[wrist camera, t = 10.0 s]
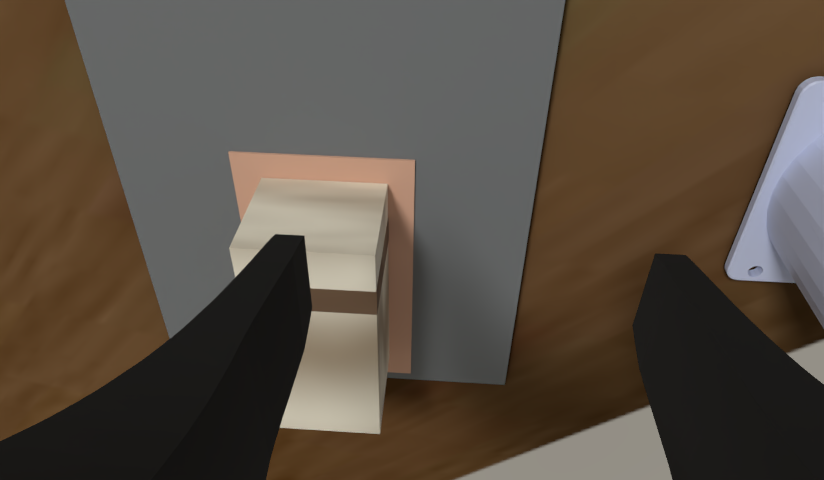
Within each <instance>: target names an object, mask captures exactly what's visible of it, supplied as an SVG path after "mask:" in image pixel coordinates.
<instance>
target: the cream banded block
mask: <svg viewBox="0 0 824 480" xmlns="http://www.w3.org/2000/svg"><path fill="white" fill-rule="evenodd" d="M275 234H284V235H303V236H304V237H305V246H306V255H307V264H308V273H309V282H310V291H311V300H312V312H311V317H310V323H309V329H308V334H307V339H306V344H305V349H304V353H303V356H302V359H301V362H300V366H299V369H298V372H297V375H296V378H295V381H294V384H293V387H292V391H291V394H290V397H289V400H288V403H287V406H286V409H285V412H284V415H283V418H282V421H281V424H280V428H295V429H310V430H326V431H341V432H357V433H372V434H380V430H381V421H382V413H383V405H384V397H385V389H386V380H387V372H388V364H389V267H388V241H389V218H388V184H383V183H362V182H341V181H320V180H299V179H278V178H261V180H260V182H259V184H258V186H257V189H256V191H255V193H254V195H253V197H252V199H251V202H250V204H249V206H248V208H247V210H246V212H245V215H244V217H243V219H242V221H241V223H240V225H239V228H238V230H237V232H236V234H235V236H234V238H233V241H232V243H231V245H230V247H229V250H230V255H231V259H232V264H233V269H234V274H235V277H236V276H237V275H238V274H239V273H240V272H241V271H242V270H243V269H244V268H245V266H246V265H247V264H248V263H249V262H250V261H251V260H252V259H253V258H254V256H255V255H256V254H257V253H258V252H259V251H260V250H261V249H262V247H263V246H264V245H265V244H266V243H267V242H268V241H269V240H270V239H271V238H272V237H273V236H274V235H275Z"/></svg>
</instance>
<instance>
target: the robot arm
mask: <svg viewBox="0 0 824 480" xmlns="http://www.w3.org/2000/svg"><path fill="white" fill-rule="evenodd" d="M754 266H758V267H757V268H755V269H753V270H749V269H750V268H752V267H754ZM724 268H725V270H726V273H727V275H728V277H730V278H731V279H735V280H747V281H765V282H784V283H796V284H797V286H798V288H799V289H800V291H801V293H802V294H803V296H804V297H805V299H806V301H807V302H808V304H809V306H810V307H811V309H812V311H813V312H814V314H815V316H816V317H817V319H818V320H819V322H820V324H821V325H822V327H823V329H824V77H822V76H817V77H811V78H809V79H807V80H805V81H803V82H802V83H801V84H800V85H799V86H798V88H797V89H796V91H795V93H794V96H793V98H792V100H791V103H790V105H789V108H788V110H787V113H786V115H785V118H784V120H783V123H782V125H781V128H780V130H779V132H778V135H777V137H776V140H775V142H774V145H773V147H772V150H771V152H770V155H769V157H768V159H767V162H766V164H765V167H764V169H763V172H762V174H761V177H760V179H759V182H758V184H757V186H756V189H755V191H754V194H753V196H752V199H751V201H750V204H749V206H748V209H747V211H746V213H745V216H744V218H743V221H742V223H741V226H740V228H739V231H738V233H737V236H736V238H735V240H734V243H733V245H732V248H731V250H730V253H729V255H728V258H727V260H726V263H725V267H724ZM311 312H312V300H311V291H310V282H309V273H308V264H307V255H306V246H305V237H304V236H303V235H284V234H275V235H274V236H273V237H272V238H271V239H270V240H269V241H268V242H267V243H266V244H265V245H264V246H263V247H262V249H261V250H260V251H259V252H258V253H257V254H256V255H255V256H254V258H253V259H252V260H251V261H250V262H249V263H248V264H247V265H246V266H245V268H244V269H243V270H242V271H241V272H240V273H239V274H238V275H237V276H236V277H235V278H234V279H233V280H232V281H231V282H230V283H229V284H228V285H227V286H226V287H225V288H224V290H223V291H222V292H221V293H220V294H219V295H218V296H217V297H216V298H215V299H214V300H213V301H212V302H211V303H210V304H208V305H207V306H206V307H205V308H204V309H203V310H202V311H201V312H200V313H199V314H198V315H197V316H195V317H194V318H193V319H192V320H191V321H190V322H189V323H188V324H187V325H186V326H185V327H183V328H182V329H181V330H180V331H179V332H178V333H176V334H175V335H174V336H173V337H172V338H170V339H169V340H168V341H167V342H165V343H164V344H163V345H162V346H160V347H159V348H158V349H157V350H155V351H154V352H153V353H151V354H150V355H149V356H147V357H146V358H145V359H143V360H142V361H141V362H139V363H138V364H136V365H135V366H133V367H132V368H130V369H129V370H127V371H126V372H124V373H123V374H121V375H120V376H118V377H117V378H115V379H114V380H112V381H111V382H109V383H108V384H106V385H105V386H103V387H101V388H100V389H98V390H97V391H95V392H93V393H92V394H90V395H88V396H86V397H85V398H83V399H81V400H80V401H78V402H76V403H75V404H73V405H71V406H69V407H67V408H66V409H64V410H62V411H60V412H58V413H56V414H55V415H53V416H51V417H49V418H47V419H45V420H43V421H41V422H39V423H37V424H35V425H33V426H31V427H29V428H27V429H25V430H23V431H21V432H19V433H17V434H15V435H13V436H11V437H9V438H6V439H4V440H2V441H0V480H266V476H267V472H268V467H269V462H270V458H271V454H272V451H273V447H274V444H275V440H276V437H277V434H278V431H279V428H280V424H281V421H282V418H283V415H284V412H285V409H286V406H287V403H288V400H289V397H290V394H291V391H292V387H293V384H294V381H295V378H296V375H297V372H298V369H299V366H300V362H301V359H302V356H303V353H304V349H305V344H306V339H307V334H308V329H309V323H310V317H311ZM633 331H634V338H635V345H636V352H637V357H638V363H639V369H640V372H641V376H642V379H643V383H644V386H645V389H646V393H647V396H648V399H649V403H650V406H651V409H652V412H653V416H654V419H655V422H656V425H657V429H658V432H659V435H660V438H661V441H662V445H663V448H664V451H665V454H666V458H667V460H668V464H669V468H670V471H671V475H672V479H673V480H824V384H822V383H821V382H820V381H818V380H817V379H816V378H815V377H813V376H812V375H811V374H810V373H808V372H807V371H806V370H805V369H803V368H802V367H801V366H800V365H799V364H798V363H796V362H795V361H794V360H793V359H792V358H791V357H789V356H788V355H787V354H786V353H785V352H784V351H783V350H782V349H781V348H779V347H778V346H777V345H776V344H775V343H774V342H773V341H772V340H770V339H769V338H768V337H767V336H766V335H765V334H764V333H763V332H762V331H761V330H760V329H759V328H758V327H757V326H756V325H755V324H753V323H752V322H751V321H750V320H749V319H748V318H747V317H746V316H745V315H744V314H743V313H742V312H741V311H740V310H739V309H738V308H737V307H736V306H735V305H734V304H733V303H732V302H731V301H730V300H729V299H728V298H727V297H726V296H725V295H724V294H723V292H722V291H721V290H720V289H719V288H718V287H717V286H716V285H715V284H714V283H713V282H712V281H711V280H710V279H709V278H708V277H707V276H706V275H705V274H704V273H703V272H702V271H701V270H700V269H699V268H698V267H697V266H696V265H695V264H694V263H693V262H692V261H691V260H690V259H689V258H688V257H687V256H686V255H672V254H655V256H654V259H653V263H652V266H651V269H650V272H649V275H648V278H647V281H646V285H645V288H644V291H643V294H642V297H641V300H640V304H639V307H638V310H637V313H636V316H635V319H634V323H633Z"/></svg>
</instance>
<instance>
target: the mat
mask: <svg viewBox="0 0 824 480" xmlns="http://www.w3.org/2000/svg"><path fill="white" fill-rule="evenodd" d="M65 3H66V6H67V9H68V12H69V16H70V19H71V22H72V25H73V28H74V32H75V35H76V38H77V41H78V45H79V48H80V51H81V54H82V57H83V61H84V64H85V67H86V70H87V74H88V77H89V80H90V83H91V86H92V90H93V93H94V96H95V99H96V103H97V106H98V109H99V112H100V115H101V119H102V122H103V125H104V128H105V132H106V135H107V138H108V141H109V144H110V148H111V151H112V154H113V157H114V161H115V164H116V167H117V170H118V173H119V177H120V180H121V183H122V186H123V190H124V193H125V196H126V199H127V202H128V206H129V209H130V212H131V215H132V219H133V222H134V225H135V228H136V231H137V235H138V238H139V241H140V244H141V248H142V251H143V254H144V257H145V260H146V264H147V267H148V270H149V273H150V276H151V280H152V283H153V286H154V289H155V293H156V296H157V299H158V302H159V305H160V309H161V312H162V315H163V318H164V322H165V325H166V328H167V331H168V334H169V338H172V337H173V336H174V335H175V334H176V333H178V332H179V331H180V330H181V329H182V328H183V327H185V326H186V325H187V324H188V323H189V322H190V321H191V320H192V319H193V318H194V317H195V316H197V315H198V314H199V313H200V312H201V311H202V310H203V309H204V308H205V307H206V306H207V305H208V304H210V303H211V302H212V301H213V300H214V299H215V298H216V297H217V296H218V295H219V294H220V293H221V292H222V291H223V290H224V288H225V287H226V286H227V285H228V284H229V283H230V282H231V281H232V280H233V279H234V278H235V274H234V269H233V264H232V259H231V255H230V250H229V247H230V245H231V243H232V241H233V238H234V236H235V234H236V232H237V230H238V228H239V225H240V223H241V221H242V219H243V217H244V215H245V212H246V210H247V208H248V206H249V204H250V202H251V199H252V197H253V195H254V193H255V191H256V189H257V186H258V184H259V182H260V180H261V178H278V179H299V180H320V181H341V182H362V183H383V184H388V218H389V241H388V267H389V364H388V372H387V378H400V379H416V380H433V381H449V382H466V383H483V384H499V385H505V380H506V374H507V367H508V361H509V355H510V348H511V342H512V336H513V329H514V323H515V316H516V310H517V304H518V297H519V291H520V285H521V278H522V272H523V266H524V259H525V253H526V247H527V240H528V234H529V228H530V221H531V215H532V209H533V202H534V196H535V190H536V183H537V177H538V170H539V164H540V158H541V151H542V145H543V139H544V132H545V126H546V120H547V113H548V107H549V101H550V94H551V88H552V82H553V75H554V69H555V63H556V56H557V50H558V44H559V37H560V31H561V24H562V18H563V12H564V5H565V0H65Z"/></svg>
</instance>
